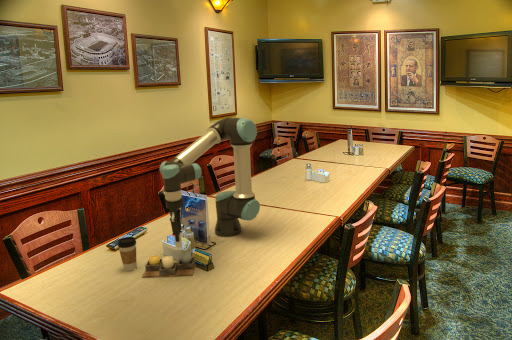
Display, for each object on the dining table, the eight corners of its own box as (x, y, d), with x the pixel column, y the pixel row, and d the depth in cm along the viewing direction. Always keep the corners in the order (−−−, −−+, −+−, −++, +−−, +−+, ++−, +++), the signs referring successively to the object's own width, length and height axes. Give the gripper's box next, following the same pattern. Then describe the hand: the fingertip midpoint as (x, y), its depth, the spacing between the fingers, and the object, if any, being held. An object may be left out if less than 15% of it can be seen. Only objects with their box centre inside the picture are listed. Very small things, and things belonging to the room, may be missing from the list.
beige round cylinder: (174, 263, 206) (174, 255, 205) (172, 268, 201) (172, 260, 200) (164, 264, 206) (163, 256, 205) (161, 268, 201) (161, 260, 200)
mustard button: (161, 262, 211) (160, 255, 210) (159, 267, 206) (158, 259, 205) (150, 263, 211) (150, 255, 210) (148, 268, 206) (147, 260, 205)
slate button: (192, 258, 210) (191, 250, 209) (190, 263, 205) (190, 255, 204) (181, 259, 210) (181, 251, 209) (180, 263, 205) (179, 255, 204)
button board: (196, 263, 213) (196, 256, 212) (192, 275, 200) (192, 268, 199) (149, 265, 213) (148, 258, 212) (142, 278, 201) (141, 271, 200)
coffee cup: (117, 269, 210) (113, 240, 207) (132, 262, 217) (128, 234, 213) (128, 274, 205) (124, 244, 202) (143, 266, 212) (139, 237, 208)
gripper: (168, 194, 207) (173, 241, 213) (162, 203, 194) (167, 253, 200) (184, 194, 206) (189, 241, 212) (179, 203, 194) (184, 252, 200)
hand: (179, 246), depth 206 cm, fingers closed
